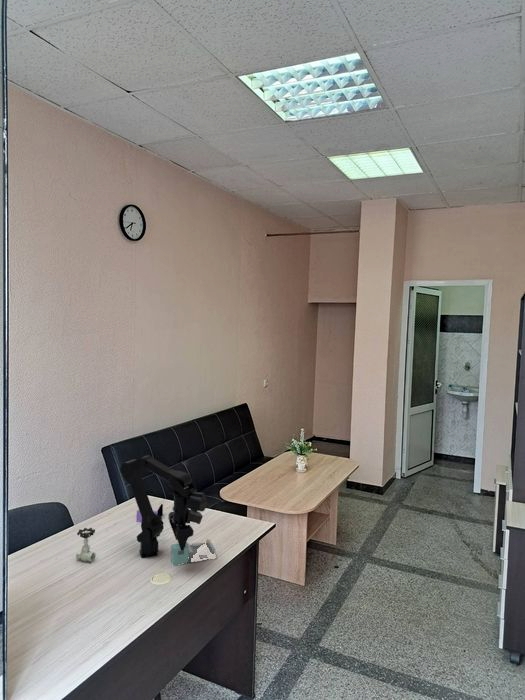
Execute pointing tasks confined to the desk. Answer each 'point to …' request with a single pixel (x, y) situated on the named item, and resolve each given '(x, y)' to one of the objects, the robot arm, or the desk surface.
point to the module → (179, 554)
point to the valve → (85, 546)
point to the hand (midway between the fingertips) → (179, 544)
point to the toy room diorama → (158, 512)
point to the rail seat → (195, 546)
